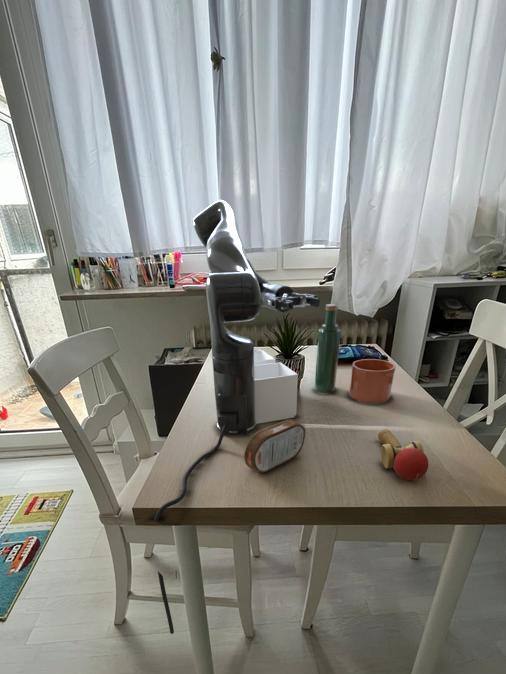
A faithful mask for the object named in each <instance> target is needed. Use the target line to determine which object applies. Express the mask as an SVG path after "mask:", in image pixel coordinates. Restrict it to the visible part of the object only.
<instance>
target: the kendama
mask: <svg viewBox="0 0 506 674" xmlns="http://www.w3.org/2000/svg"><path fill="white" fill-rule="evenodd" d="M377 439H378V441H379V442H380V443H382V445H381V449H380V455H381V461H382V464H383V467H384V468H385V469H393V470H394V472H395V473H396V475H397V476H398V477H399V478H401V479H403V480H406V481H412V482H414V481H417V480H419V479H422V478H423V477H424V476H425V475H426V474H427V472H428V469H429V466H430V465H429V464H430V463H429V459H428V456H427V455H426V454H425V452H424V448H423V445H422V442H421V441H420V440H413V441H412V442H411V443H409V445H407V446H402V444H401V443H400V442H399V440H398V439H397V437H395V435H394V434H393V432H392V431H391V429H390V430H389V429H388V428H387V429H386V428H384V429H381V431H379V433H378V434H377Z"/></svg>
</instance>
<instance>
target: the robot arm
mask: <svg viewBox="0 0 506 674" xmlns="http://www.w3.org/2000/svg"><path fill="white" fill-rule="evenodd" d="M192 223H193V228H194V231H195V234H196V236H197V238H198V239H199V241H200V242H201V244H202V245H203V246H204V248H205V252H206V253H205V254H206V261H207V262H206V263H207V266H208V269H209V270H210V272H211V273H210V274H209V275H208V276H207V277H206V282H205V295H206V297H205V298H206V306H207V313H208V321H209V328H210V343H211V358H212V373H213V386H214V399H215V400H214V401H215V412H216V428H217V430H218V431H220V434H219V436H218V440H217V443H216V444H215V446H214V447H213V448H212V449H211V450H209V451H208V452H206V453H204V454H202V455H200V457H199V458H197V460H195V462H193V464H191V466H190V467H188V469H187V471H186V472H185V474H184V476H183V478H182V490H181V492H180V494H179V496H177V497H176V498H175V499H172V500H169V501H168V502H166V503H164V504H162V506H161V507H159V509H158V510H157V512H156V514H155V515H154V520H153V521H155V522H158V521H159V520H160V518H161V516H162V514H163V512H164V511H165V510H166V509H168V508H170V507H171V506H174V505H176V504H178V503H180V502H181V501H182V500H183V499H184V497H185V496H186V493H187V485H188V479H189V477H190V475H191V473H192V472H193V471H194V469H195V468H196V467H197V466H198V465H199V464H200V463H201V462H202V461H203V460H205V459H206V458H208V457H210V456H212V455H213V454H214V453H216V452H217V450H218V449H219V448H220V446H221V445H222V443H223V439H224V436H225V435H242V436H243V435H245V436H246V435H247V434H248V433H250V432H252V431H253V430H255V428H256V426H257V424H256V421H255V384H254V350H255V345H254V341H253V340H252V339H250V338H249V337H247V336H243V335H240V334H236V333H234V332H233V331H231V330H230V329H228V328H227V327H226V325H225V324H226V323H241V322H249V321H253V320H255V319H256V318H257V317H258V316H259V314H260V311H261V309H262V308H268V309H270V310H272V311H276V312H278V313H287V312H290V311H293V310H294V308H305V307H306V306H309V307H315V308H319V307H320V305H321V299H320V298H319V296H318V295H317V294H311V293H298V292H295V290H294V289H293V288H292V287H291V286H289V285H286V284H280V283H269V281H268V280H267V279H266V278H265V277H263V276H262V275H260V274H259V273H258V272H257V271H256V270H255V268H254V266H253V264H252V263H251V261H250V260H249V258H248V256H247V253H246V250H245V247H244V243H243V240H242V239H241V238H242V237H241V236H240V230H239V224H238V220H237V218H236V215H235V212H234V211H233V209H232V207H231V206H230V205H229V204H228V203H227V202H226V201H225V200H222V199H219V200H217V201H214V202H213V203H212V204H210V205H209V206H208V207H206V208H205V209H203V210H202V211H200V212H199V213H198V214H196V215H195V216H194V218H193V220H192ZM157 575H158V582H159V586H160V592H161V597H162V601H163V605H164V610H165V614H166V618H167V623H168V628H169V633H170V635H173V634H174V633H175V629H174V624H173V619H172V615H171V610H170V606H169V601H168V597H167V591H166V586H165V581H164V575H163V574H162V573H161V572H160V571H159V570H157Z"/></svg>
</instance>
